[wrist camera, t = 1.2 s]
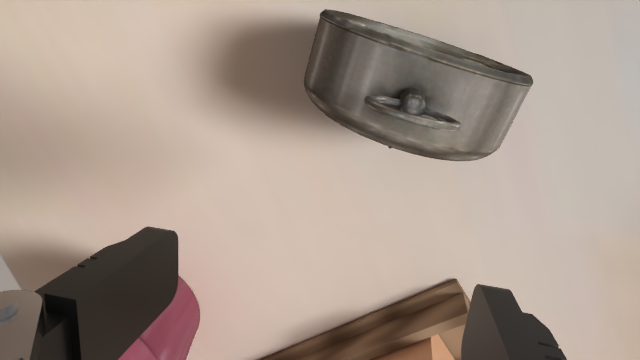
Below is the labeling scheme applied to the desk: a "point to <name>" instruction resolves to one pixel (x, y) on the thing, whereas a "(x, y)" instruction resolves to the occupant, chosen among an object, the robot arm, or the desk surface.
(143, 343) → the plant pot
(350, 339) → the walnut chute
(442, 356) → the terracotta block
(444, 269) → the desk surface
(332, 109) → the alarm clock
